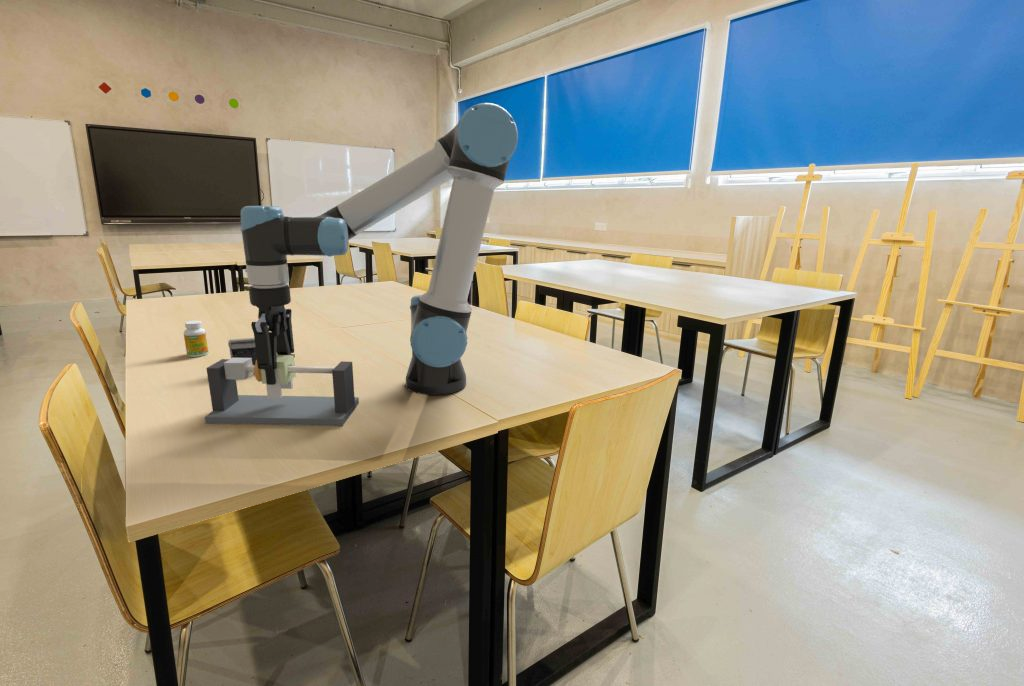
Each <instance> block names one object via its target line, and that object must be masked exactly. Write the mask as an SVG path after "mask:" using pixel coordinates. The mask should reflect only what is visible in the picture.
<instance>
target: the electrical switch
mask: <svg viewBox="0 0 1024 686" xmlns="http://www.w3.org/2000/svg"><path fill="white" fill-rule="evenodd" d="M227 344H228V348H229V354H230V359H231V358H252V365H255V362H256V360H257V356H256V348H255V339H254V337H245V338H232V339H229V340H228V341H227Z"/></svg>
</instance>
